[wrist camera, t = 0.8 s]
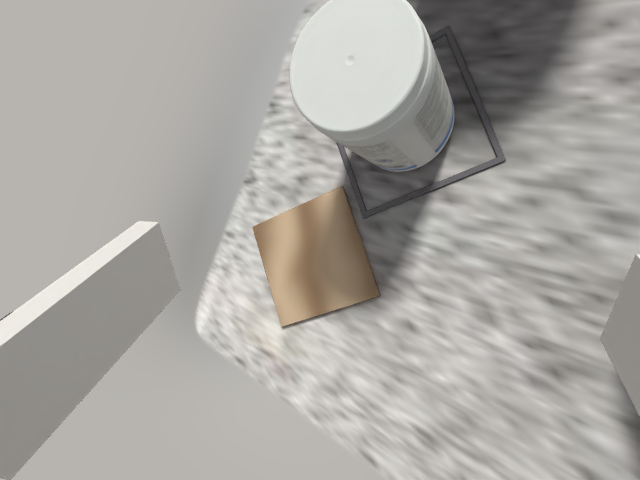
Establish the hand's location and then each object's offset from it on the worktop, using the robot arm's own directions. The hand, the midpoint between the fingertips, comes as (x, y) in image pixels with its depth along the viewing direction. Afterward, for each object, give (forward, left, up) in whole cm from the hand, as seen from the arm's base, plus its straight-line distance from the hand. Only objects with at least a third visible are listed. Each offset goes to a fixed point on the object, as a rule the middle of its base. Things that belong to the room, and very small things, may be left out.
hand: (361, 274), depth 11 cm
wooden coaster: (+14, -5, -27) cm, 30 cm away
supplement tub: (0, -14, -27) cm, 30 cm away
